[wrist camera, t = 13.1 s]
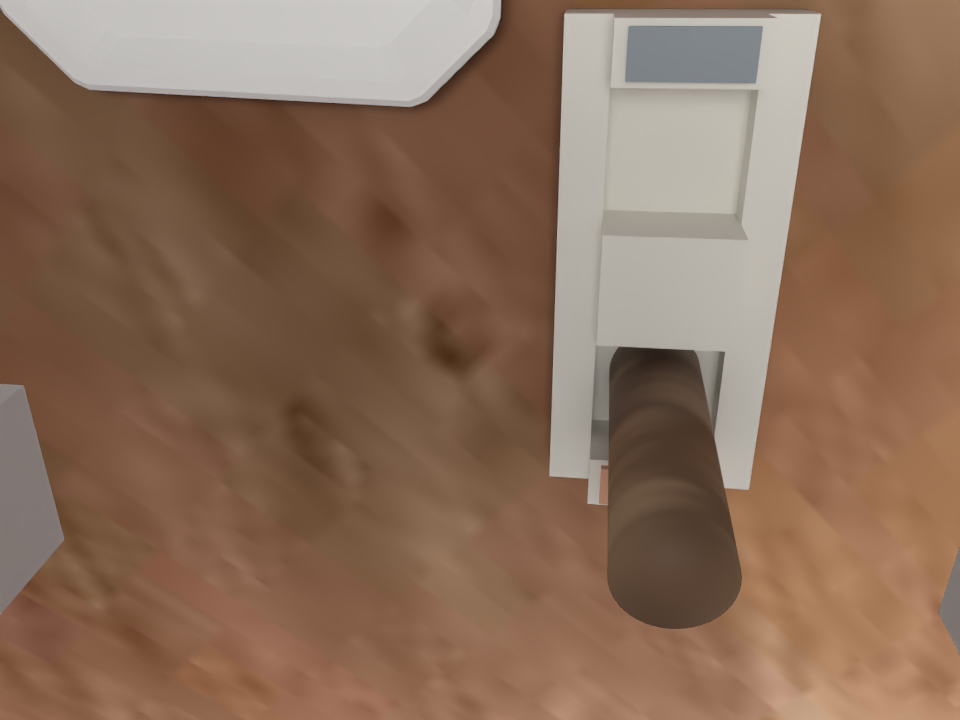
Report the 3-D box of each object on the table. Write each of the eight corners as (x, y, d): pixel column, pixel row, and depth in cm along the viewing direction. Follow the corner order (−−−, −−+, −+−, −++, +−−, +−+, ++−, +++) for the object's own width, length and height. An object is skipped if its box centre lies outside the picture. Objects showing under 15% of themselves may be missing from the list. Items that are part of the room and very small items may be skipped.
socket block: (552, 448, 42) (546, 504, 38) (567, 9, 34) (561, 18, 29) (741, 460, 41) (756, 520, 37) (806, 9, 33) (836, 18, 28)
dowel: (607, 408, 40) (604, 622, 27) (611, 328, 38) (611, 520, 26) (695, 412, 39) (733, 634, 27) (704, 333, 38) (749, 530, 25)
